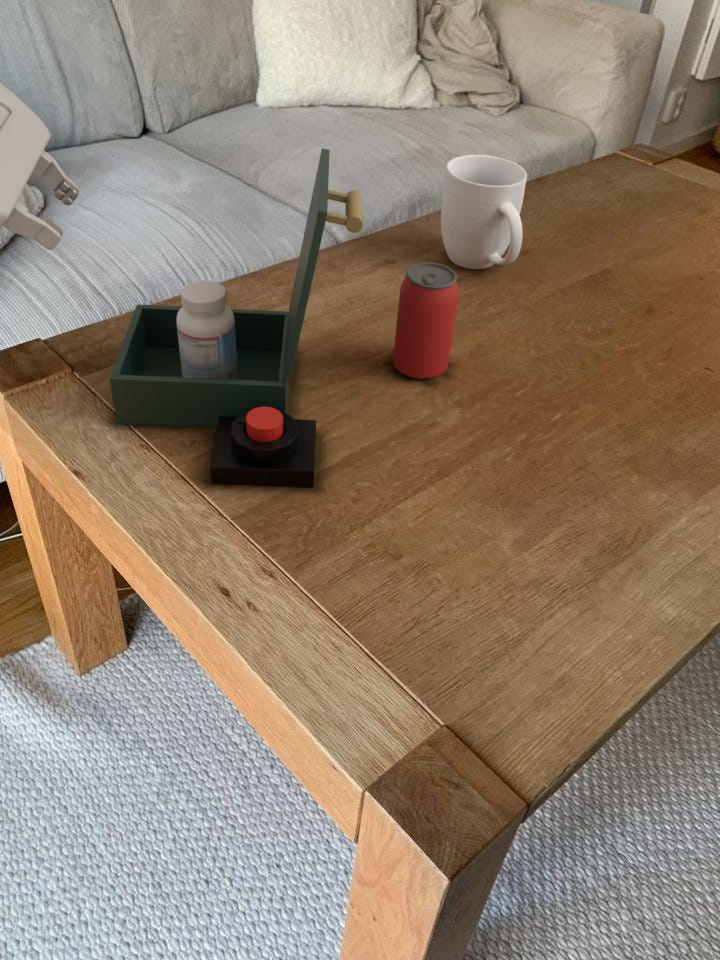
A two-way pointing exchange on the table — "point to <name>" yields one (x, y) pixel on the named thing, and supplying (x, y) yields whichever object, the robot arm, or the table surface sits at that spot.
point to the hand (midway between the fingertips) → (66, 219)
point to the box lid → (316, 251)
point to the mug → (482, 210)
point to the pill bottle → (206, 332)
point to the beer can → (425, 320)
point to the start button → (264, 424)
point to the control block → (264, 454)
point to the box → (196, 401)
